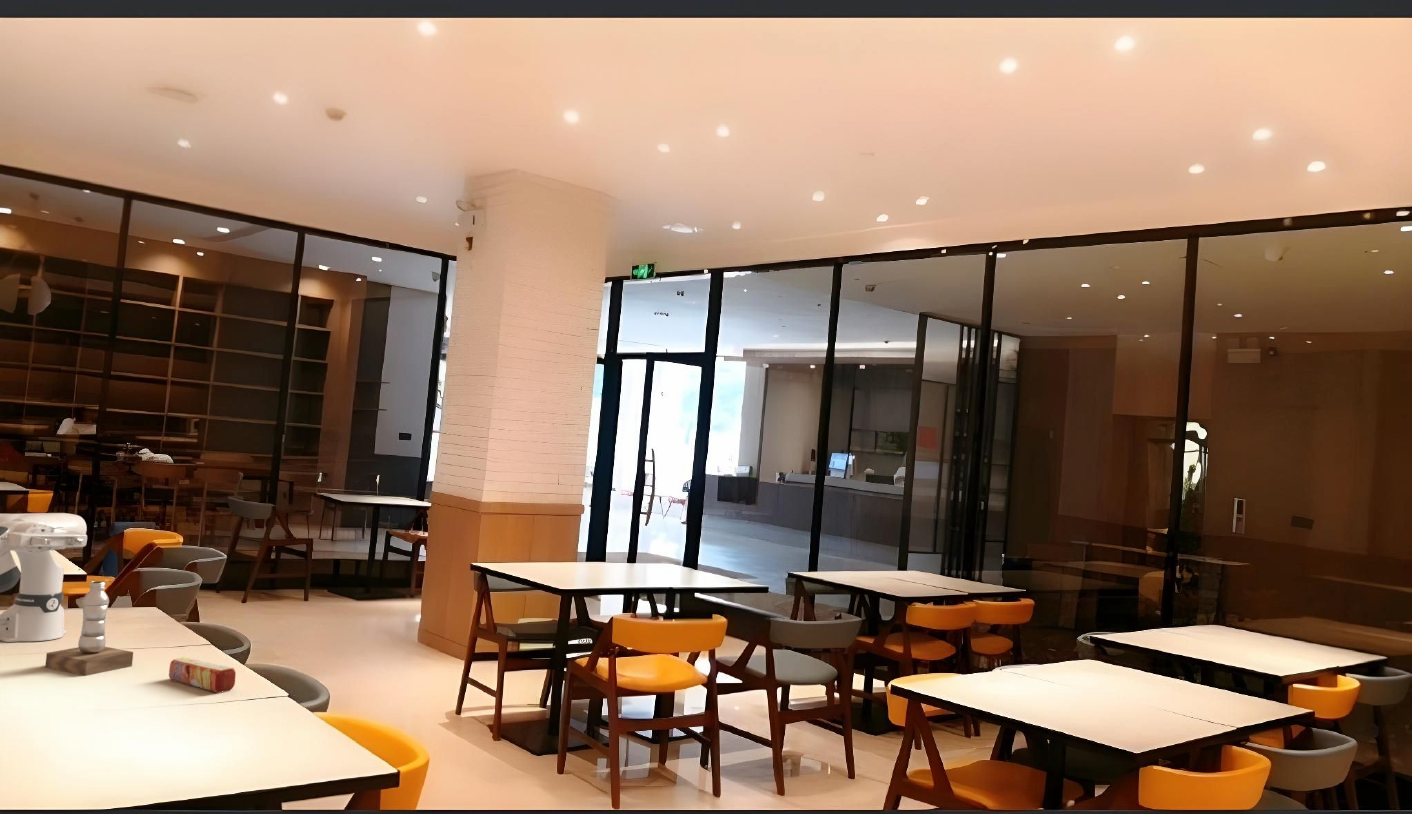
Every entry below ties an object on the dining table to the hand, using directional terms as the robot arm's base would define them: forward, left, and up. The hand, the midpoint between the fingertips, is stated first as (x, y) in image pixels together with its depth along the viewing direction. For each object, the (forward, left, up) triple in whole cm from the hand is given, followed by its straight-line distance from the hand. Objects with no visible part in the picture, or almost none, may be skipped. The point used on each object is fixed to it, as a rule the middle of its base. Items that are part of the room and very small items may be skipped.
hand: (64, 541), depth 272 cm
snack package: (+52, +5, -35) cm, 62 cm away
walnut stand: (+13, +2, -34) cm, 37 cm away
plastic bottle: (+13, +2, -31) cm, 33 cm away
